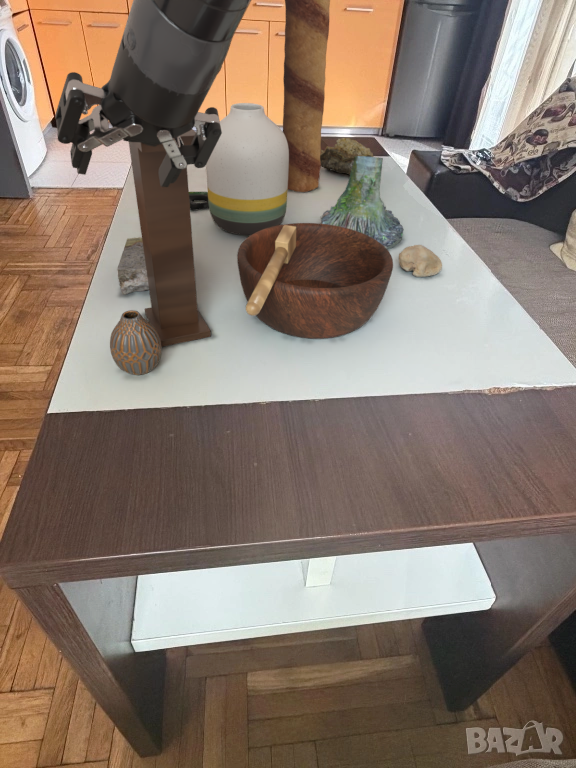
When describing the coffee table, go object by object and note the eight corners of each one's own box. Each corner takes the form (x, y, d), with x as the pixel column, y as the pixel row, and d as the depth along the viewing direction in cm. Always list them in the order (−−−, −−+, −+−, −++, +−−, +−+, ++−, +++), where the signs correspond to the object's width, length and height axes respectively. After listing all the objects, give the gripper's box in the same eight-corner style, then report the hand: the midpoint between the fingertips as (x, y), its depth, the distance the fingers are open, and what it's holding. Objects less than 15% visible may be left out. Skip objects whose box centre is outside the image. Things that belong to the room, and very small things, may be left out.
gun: (141, 205, 119) (145, 190, 127) (142, 212, 120) (145, 196, 127) (214, 205, 121) (212, 190, 129) (214, 211, 122) (213, 196, 130)
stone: (410, 271, 108) (389, 252, 103) (435, 251, 106) (415, 230, 100) (423, 293, 104) (402, 274, 99) (450, 271, 101) (430, 251, 96)
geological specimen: (115, 272, 87) (126, 230, 98) (122, 303, 91) (132, 260, 102) (181, 269, 88) (184, 229, 99) (185, 300, 92) (187, 258, 103)
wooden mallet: (283, 224, 81) (296, 226, 81) (283, 245, 84) (295, 246, 84) (242, 300, 68) (257, 303, 68) (244, 322, 71) (258, 324, 70)
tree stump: (316, 249, 109) (320, 156, 102) (320, 234, 127) (324, 154, 120) (405, 253, 108) (416, 158, 100) (397, 237, 126) (405, 156, 118)
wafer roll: (271, 182, 140) (276, -34, 111) (305, 177, 144) (319, -32, 116) (290, 195, 133) (300, -32, 104) (325, 189, 137) (345, -29, 109)
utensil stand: (215, 343, 81) (204, 134, 62) (163, 354, 78) (135, 139, 59) (192, 305, 89) (176, 111, 70) (145, 314, 86) (115, 114, 67)
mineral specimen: (361, 165, 155) (365, 128, 149) (380, 179, 145) (386, 141, 139) (315, 167, 151) (318, 130, 145) (332, 182, 142) (335, 143, 135)
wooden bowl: (381, 359, 79) (393, 300, 73) (221, 339, 82) (219, 279, 75) (384, 282, 99) (394, 230, 92) (254, 267, 101) (255, 215, 95)
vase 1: (172, 357, 77) (165, 306, 72) (150, 386, 72) (141, 332, 67) (129, 349, 79) (120, 297, 73) (105, 376, 74) (93, 323, 68)
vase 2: (299, 235, 114) (306, 113, 99) (226, 247, 107) (222, 119, 92) (266, 207, 125) (267, 95, 110) (198, 217, 119) (190, 99, 104)
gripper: (244, 38, 46) (181, 155, 60) (73, -20, 39) (45, 128, 52) (259, 111, 45) (191, 214, 58) (84, 64, 37) (52, 195, 50)
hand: (122, 173), depth 55 cm, fingers open, 8 cm apart
